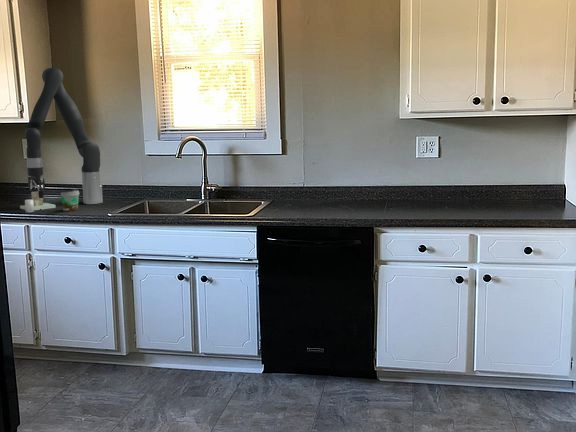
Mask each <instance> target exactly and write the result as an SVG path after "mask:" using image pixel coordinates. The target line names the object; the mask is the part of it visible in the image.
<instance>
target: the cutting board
mask: <svg viewBox="0 0 576 432" xmlns="http://www.w3.org/2000/svg"><path fill="white" fill-rule="evenodd" d="M19 208H20V210H24V211H26V210H25V204H24V205H19ZM56 208H57V207H56V204H54V203H53V204H52V203H48V202H43V205H41V206H34V211H38V210H39V211H40V209H41V210H47V209H48V210H49V209H56Z"/></svg>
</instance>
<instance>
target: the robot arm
mask: <svg viewBox="0 0 576 432" xmlns="http://www.w3.org/2000/svg"><path fill="white" fill-rule="evenodd" d="M41 78H42V81H43V83H44V85H43V88H42V91H41V94H40V95H39V97H38V99H37V101H36V103H35V105H34V107H33V110H32V112H31V115H30V119H29V121H28V123H27V125H26V127H25V130H24V133H23V134H24V135H23V136H24V138H25V140H26V169H27V176H28V177H27V183H28V186H27V187H28V189H29V190H30V192H37V191H38V193H39V198H43V199H44V191H45V190H46V185H45V178H42V177H41V176H44V166H43V158H42V149H41V143H42V142H41V136H42V135H41V129H42V126H43V125H44V123H45V122H46V120H47V116H48V113H49V110H50V108H51V105H52V103H53V100H54V103H55V105H56V107H57V109H58V111H59V114H60V116H61V118H62V120H63V122H64V124H65V125H66V128H67V130H68V131H69V133H70V134H71V137H72V138H73V140H74V143H75V146H76V149H77V152H78V154H79V155H80V156H81V157H82V166H81V181H82V184H81V185H82V197H83V198H82V199H83V201H82V202H83V204H84V205H85V204H86V205H95V204H103V203H104V202H103V198H104V197H103V185H101V177H100V176H101V173H100V168H101V150H100V146H98V144H97V143H95V142H92V141H91V140H90V138H89V136H88V135H87V133H86V130H85V125H84V120H83V117H82V114H81V112H80V110H79V108H78V106H77V105H76V102H75V101H74V100H73V99H72V98H71V96H70V95H69V94H68V92H67V90H66V89H65V86H64V84H63V81H64V74H63V72H62V70H60V69H59V68H58V67H57V68H56V67H47V68H46V69H44V70H43V72H42V75H41ZM36 188H37V191H36ZM31 197H32V195H31Z"/></svg>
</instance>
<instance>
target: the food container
mask: <svg viewBox="0 0 576 432" xmlns="http://www.w3.org/2000/svg"><path fill="white" fill-rule="evenodd" d="M79 195H80V191H79V190H78V189H72V190H71V191H66V192H60V197H61V204H62V211H63V213H69V212H70V211H72V212H77V211H79Z"/></svg>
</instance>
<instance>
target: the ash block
mask: <svg viewBox="0 0 576 432" xmlns="http://www.w3.org/2000/svg"><path fill="white" fill-rule="evenodd" d="M30 192H31V191H30ZM31 195H32V196H31V199H32V200H33V203H34V206H41V205H43V203H44V197H43V198H39V193H38V190H37V191H36V192H31Z"/></svg>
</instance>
